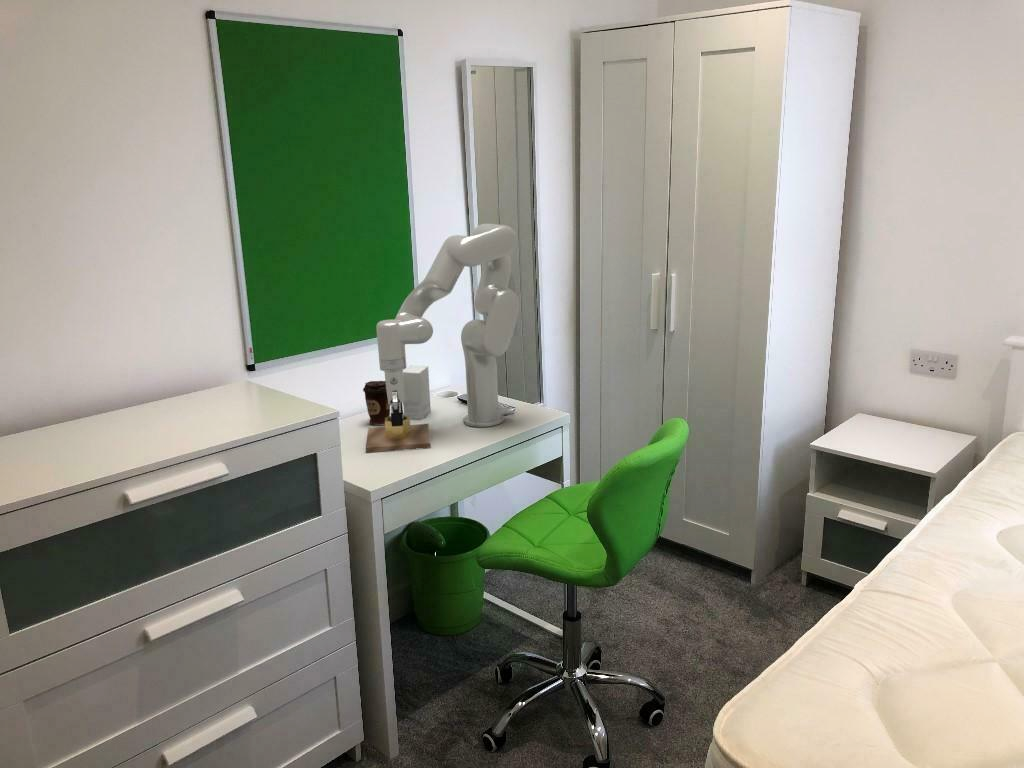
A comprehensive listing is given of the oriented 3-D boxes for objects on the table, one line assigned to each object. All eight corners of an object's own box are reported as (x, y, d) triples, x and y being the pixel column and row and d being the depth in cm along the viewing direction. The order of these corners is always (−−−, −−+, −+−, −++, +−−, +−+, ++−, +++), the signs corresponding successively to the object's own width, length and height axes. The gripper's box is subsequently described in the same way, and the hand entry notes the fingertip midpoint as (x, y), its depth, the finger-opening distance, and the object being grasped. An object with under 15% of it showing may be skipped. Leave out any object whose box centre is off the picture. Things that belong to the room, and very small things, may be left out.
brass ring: (410, 430, 246) (409, 414, 244) (410, 438, 239) (409, 421, 238) (386, 432, 245) (385, 415, 244) (385, 439, 238) (384, 423, 237)
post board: (428, 428, 252) (427, 404, 250) (430, 447, 235) (428, 422, 233) (368, 432, 250) (366, 408, 248) (366, 452, 233) (363, 427, 231)
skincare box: (413, 411, 270) (410, 364, 266) (432, 412, 268) (429, 365, 264) (403, 419, 262) (399, 371, 258) (423, 420, 260) (419, 371, 256)
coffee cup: (377, 429, 253) (373, 388, 250) (360, 424, 259) (356, 383, 255) (399, 421, 259) (396, 381, 256) (382, 417, 265) (379, 377, 261)
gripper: (406, 369, 228) (410, 429, 233) (406, 355, 245) (410, 411, 249) (378, 371, 228) (383, 431, 232) (380, 357, 244) (385, 413, 249)
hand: (397, 420), depth 241 cm, fingers open, 9 cm apart
